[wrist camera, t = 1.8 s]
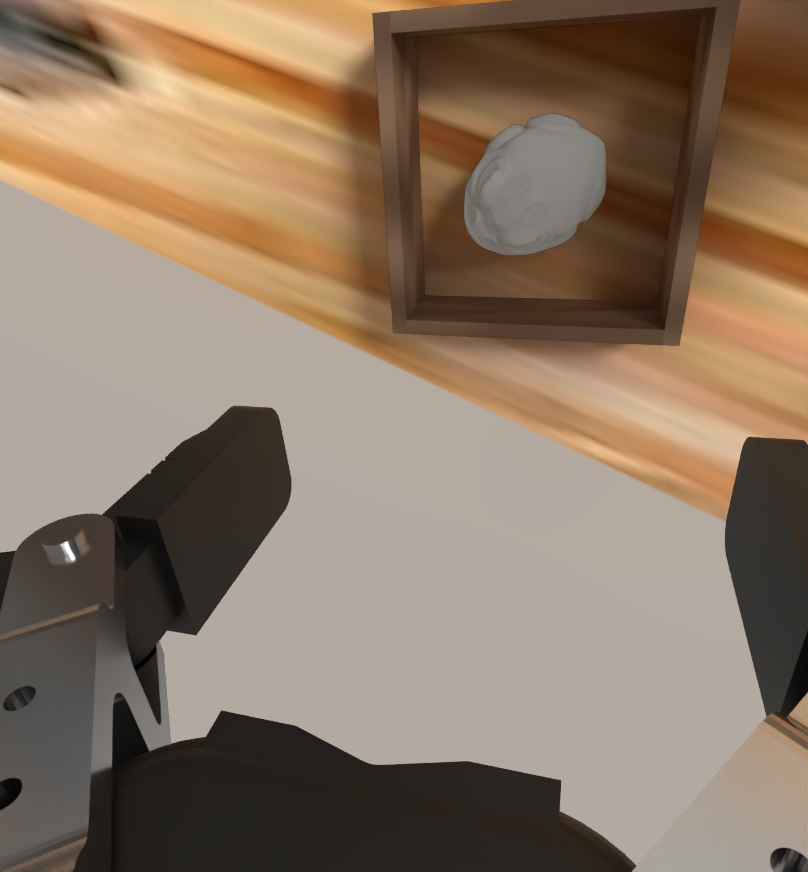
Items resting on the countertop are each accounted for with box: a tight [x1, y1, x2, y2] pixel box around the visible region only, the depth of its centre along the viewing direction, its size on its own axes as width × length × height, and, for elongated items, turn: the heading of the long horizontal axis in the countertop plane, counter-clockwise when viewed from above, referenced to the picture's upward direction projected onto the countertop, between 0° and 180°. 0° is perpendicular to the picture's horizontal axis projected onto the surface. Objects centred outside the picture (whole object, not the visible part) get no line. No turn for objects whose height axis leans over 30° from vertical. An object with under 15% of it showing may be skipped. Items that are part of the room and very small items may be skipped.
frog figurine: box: [464, 114, 606, 255], centre depth 30 cm, size 6×7×7 cm
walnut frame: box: [372, 0, 740, 346], centre depth 31 cm, size 15×15×4 cm
